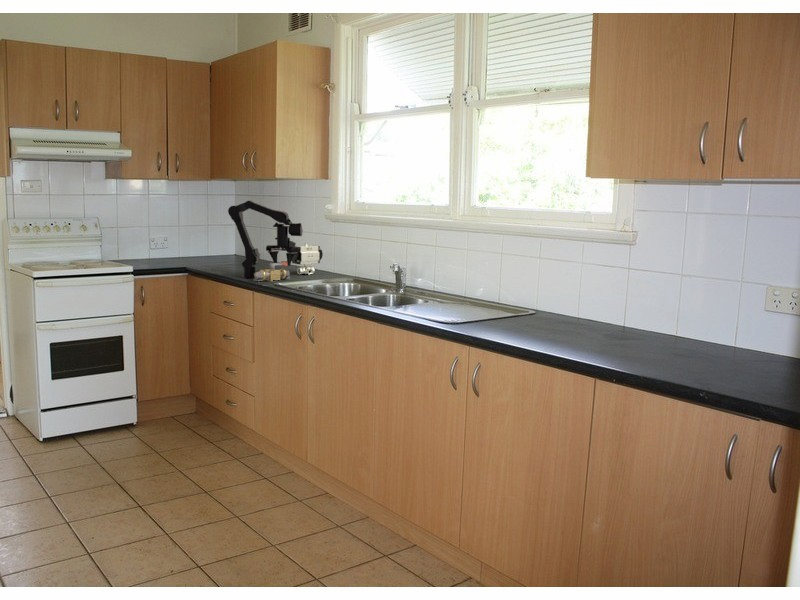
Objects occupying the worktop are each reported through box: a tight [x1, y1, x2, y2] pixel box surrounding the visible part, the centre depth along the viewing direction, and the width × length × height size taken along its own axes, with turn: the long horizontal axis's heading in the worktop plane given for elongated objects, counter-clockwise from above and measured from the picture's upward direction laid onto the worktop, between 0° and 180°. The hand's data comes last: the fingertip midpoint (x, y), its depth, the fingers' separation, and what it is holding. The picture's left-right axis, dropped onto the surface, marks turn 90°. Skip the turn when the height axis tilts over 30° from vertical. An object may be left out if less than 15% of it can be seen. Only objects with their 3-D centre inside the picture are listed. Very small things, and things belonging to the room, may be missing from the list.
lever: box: [268, 260, 289, 270], centre depth 379 cm, size 12×4×4 cm, turn 131°
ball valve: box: [291, 242, 324, 276], centre depth 402 cm, size 18×8×18 cm, turn 131°
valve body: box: [253, 267, 291, 282], centre depth 377 cm, size 20×6×6 cm, turn 136°
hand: (282, 265), depth 383 cm, fingers open, 9 cm apart
